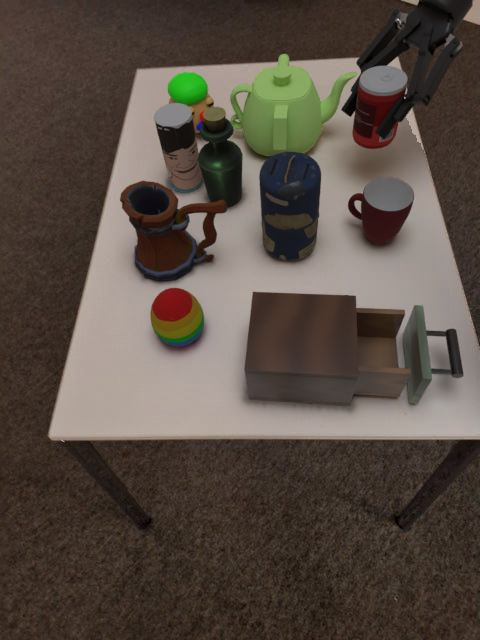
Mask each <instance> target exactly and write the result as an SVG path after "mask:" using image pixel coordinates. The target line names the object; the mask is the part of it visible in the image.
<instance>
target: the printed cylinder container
mask: <svg viewBox="0 0 480 640" xmlns="http://www.w3.org/2000/svg"><path fill="white" fill-rule="evenodd" d="M153 121H154V124H155V128H156V132H157V135H158V140H159V144H160V148H161V153H162V156H163V160H164V164H165V168H166V173H167V176H168V180H169V185H170V186H171V189H172V190H174V191H176V192H178V193H185V194H186V193H191V192H194V191H196V190H198V189H199V188H200V187H201V186H202V184H203V183H204V180H203V176H202V173H201V169H200V166H199V162H198V155H199V152H200V151H199V145H198V141H197V135H196V134H197V133H195V129H194V123H193V117H192V112H191V109H190V108H189V107H188V106H187V105H184V104H180V103H171V104H169V103H168V104H164V105H161V106H160V107H159V108H158V109H157V110H155V112H154V113H153Z"/></svg>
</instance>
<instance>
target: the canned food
mask: <svg viewBox="0 0 480 640" xmlns="http://www.w3.org/2000/svg"><path fill="white" fill-rule="evenodd" d="M408 79H409V78H408V75H407V73H406V72H405V71H404V70H402V69H400V68H398V67H396V66H391V65H387V66H376V67H372V68H369V69H367V70H366V71H364V72H363V73H362V74H361V76H360V80H359V86H358V93H357V100H356V108H355V112H354V116H353V124H352V125H353V126H352V139H353V141H354V143H356V145H358V146H359V147H361V148H364V149H368V150H380V149H384V148H386V147H388V146H390V145H391V144H392V142H393V141H394V139H395V138H396V136H397V132H398V128H399V123H400V122H398V121H397V122H396V124H395V125H394V127H393V128H392V129H391V131H390V132H389V134H388V135H387V137H386V138H385V139H383V138H381V137H380V136H379V135H378V134H376V133H375V131H376V130H377V128H378V127H379V125H380V124H381V123H382V121H383V120H384V118H385V117H386V115H387V114H388V113H389V111H390V110H391V108H392V107H393V105H394V104H395V102H396V101H397V100H398V98H399V97H400V96H402V97H403V98H404V99H405V97H404V94H406V93H407V88H408V87H407V86H408Z"/></svg>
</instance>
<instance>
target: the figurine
mask: <svg viewBox="0 0 480 640" xmlns="http://www.w3.org/2000/svg"><path fill="white" fill-rule="evenodd" d="M167 94H168V95H169V97H170V98H169V100H168V104H171V103H180V104H184V105H187V106H188V107H189V108H190V109H191V112H192V117H193V123H194V129H195V134H200V129H201V125H202V123H203V122H204V121H205V119H204V117H203V113H204V111H205V110H207V109H209V108H212V107H215V102H214V99H213V97H211V94H209V86H208V83H207V81H206V80H205V78H204V77H203V76H201V75H200V74H198V73H197V72H189V71H183V72H180V73H177V74H176V75H174V76H173V77H172V78H171V79H170V80H169V81H168V84H167Z"/></svg>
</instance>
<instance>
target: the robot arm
mask: <svg viewBox="0 0 480 640" xmlns="http://www.w3.org/2000/svg"><path fill="white" fill-rule="evenodd" d="M473 1H474V0H418V2H417V4H416V6H415V7H414V9H412V10H411V11H409V13H406V12H401V11H400V9H399V8H395V9H393V10H392V11H391V14H390V16H389V18H388V20H387V22H386V23H385V24H384V26H383V27H382V29H381V30H380V31H379V32H378V34H377V35H376V36H375V37H374V38H373V40H372V41H371V43H370V44H369V45H368V46H367V48H365V50H364V51H363V52H362V53H361V55H359V57H358V58H357V60H356V63H355V64H356V66H357V67H358V68H359V70H360V73H359V75H358V77H357V78H356V80H355V81H354V82H353V85H352V86H351V88H350V92H351V94H350V95H349V96H348V98H347V100H346V101H345V102H344V104H343V106H342V107H341V109H340V110H341V112H342V113H344V114H345V115H347V117H350V118H352V116H353V114H355V108H356V100H357V93H358V86H359V80H360V76H361V74H362V73H363V72H364V71H366V70H367V69H369V68H372V67H376V66H389V65H390V64H391V63H392V62H393V61H394V60H396V59H397V58H398V57H399V56H400V55H401V54H403V53H404V52H407V51H409V50H410V49H413V50H418V51H417V57H416V58H417V59H416V61H415V65H414V68H413V71H412V74H411V78H410V81H409V83H408V87H407V89H406V92H405V94H404V98H403V97H402V96H400V97H399V98H398V100H397V101H396V102H395V104H394V105H393V107H392V108H391V110H390V111H389V113H388V114H387V115H386V117H385V118H384V120H383V121H382V123H381V124H380V125H379V127H378V128H377V130H376V131H375V133H376V134H378V135H379V136H380V137H381V138H383V139H385V138H386V137H387V135H388V134H389V132H390V131H391V129H392V128H393V127H394V125H395V124H396V122H397V121H398V122H399V123H402V122H403V121H404V120H405V118H406V116H407V115H408V114H409V113H410V111H411V110H412V108H413V107H414V106H416V105H419V106H423V107H427V106H428V105H429V104H430V102H431V100H432V99H433V97H434V95H435V94H436V91H437V90H438V88H439V87H440V84H441V82H442V81H443V79H444V77H445V76H446V74H447V72H448V70H449V69H450V67H451V66H452V63H453V61H454V60H455V59H456V58H457V57H458V56H459V55H460V54H461V53H462V51H463V50H464V47H465V46H464V44H463V42H462V41H461V39H460V37H458V36H454V32H455V30H456V28H457V27H458V26H460V24H461V23H462V21H463V20H464V19H465V18H466V16H467V15H468V13H469V12H470V10H471V9H472V8H473V5H474V4H473V3H474V2H473ZM404 25H405V26H404ZM400 30H401V31H400ZM399 31H400V32H399ZM393 39H394V40H393ZM441 46H443V49H442V50H441V52H440V53H439V56H438V57H437V59H436V61H435V63H434V65H433V67H432V68H431V70H430V71H429V69H430V66H431V63H432V62H433V61H434V57H435V54H436V51H437V49H438V48H440V47H441ZM428 72H429V74H428ZM427 75H428V76H427Z"/></svg>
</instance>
